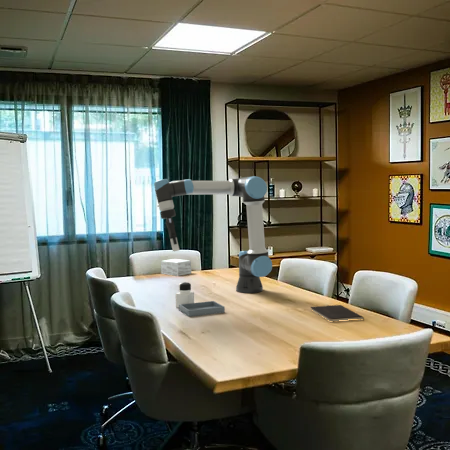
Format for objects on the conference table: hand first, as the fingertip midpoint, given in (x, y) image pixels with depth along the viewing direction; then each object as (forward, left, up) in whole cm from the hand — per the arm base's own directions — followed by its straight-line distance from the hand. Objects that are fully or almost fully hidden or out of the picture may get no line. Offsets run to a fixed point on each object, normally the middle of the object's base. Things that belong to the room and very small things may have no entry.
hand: (176, 250), depth 264 cm
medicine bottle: (-2, +8, -28) cm, 29 cm away
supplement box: (-28, -91, -28) cm, 100 cm away
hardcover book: (-59, +54, -28) cm, 85 cm away
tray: (-6, +20, -27) cm, 35 cm away
